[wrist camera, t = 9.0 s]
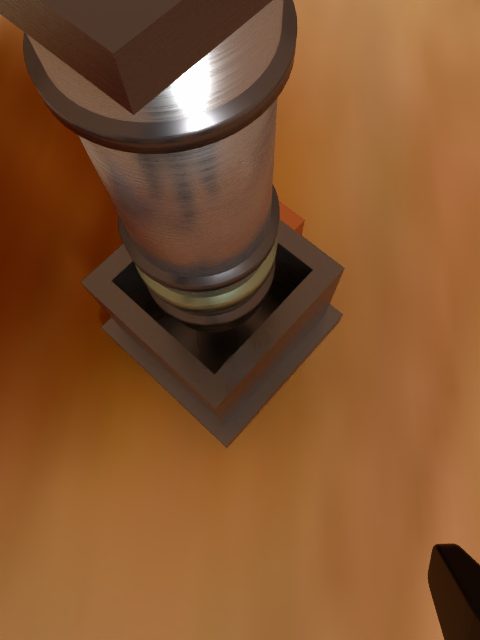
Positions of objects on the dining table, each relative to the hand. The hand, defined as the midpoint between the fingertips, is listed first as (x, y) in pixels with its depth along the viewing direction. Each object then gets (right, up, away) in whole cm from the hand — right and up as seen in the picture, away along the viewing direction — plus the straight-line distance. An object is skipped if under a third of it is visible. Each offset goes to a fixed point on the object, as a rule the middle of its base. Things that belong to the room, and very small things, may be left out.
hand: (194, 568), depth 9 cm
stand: (0, +4, +14) cm, 14 cm away
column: (0, +6, +8) cm, 10 cm away
